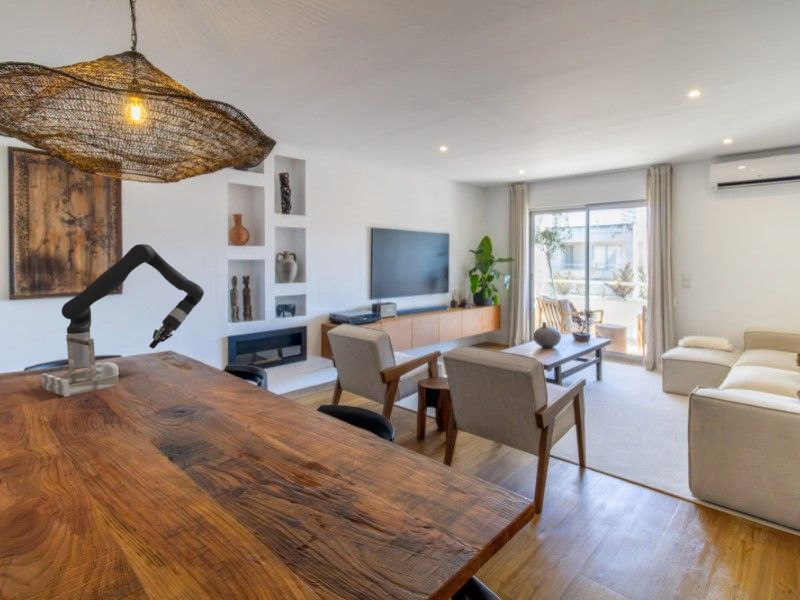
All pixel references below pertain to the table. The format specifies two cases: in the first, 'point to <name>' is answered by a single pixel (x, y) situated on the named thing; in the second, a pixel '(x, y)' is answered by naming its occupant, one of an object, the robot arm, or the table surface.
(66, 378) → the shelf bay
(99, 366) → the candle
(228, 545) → the table surface
